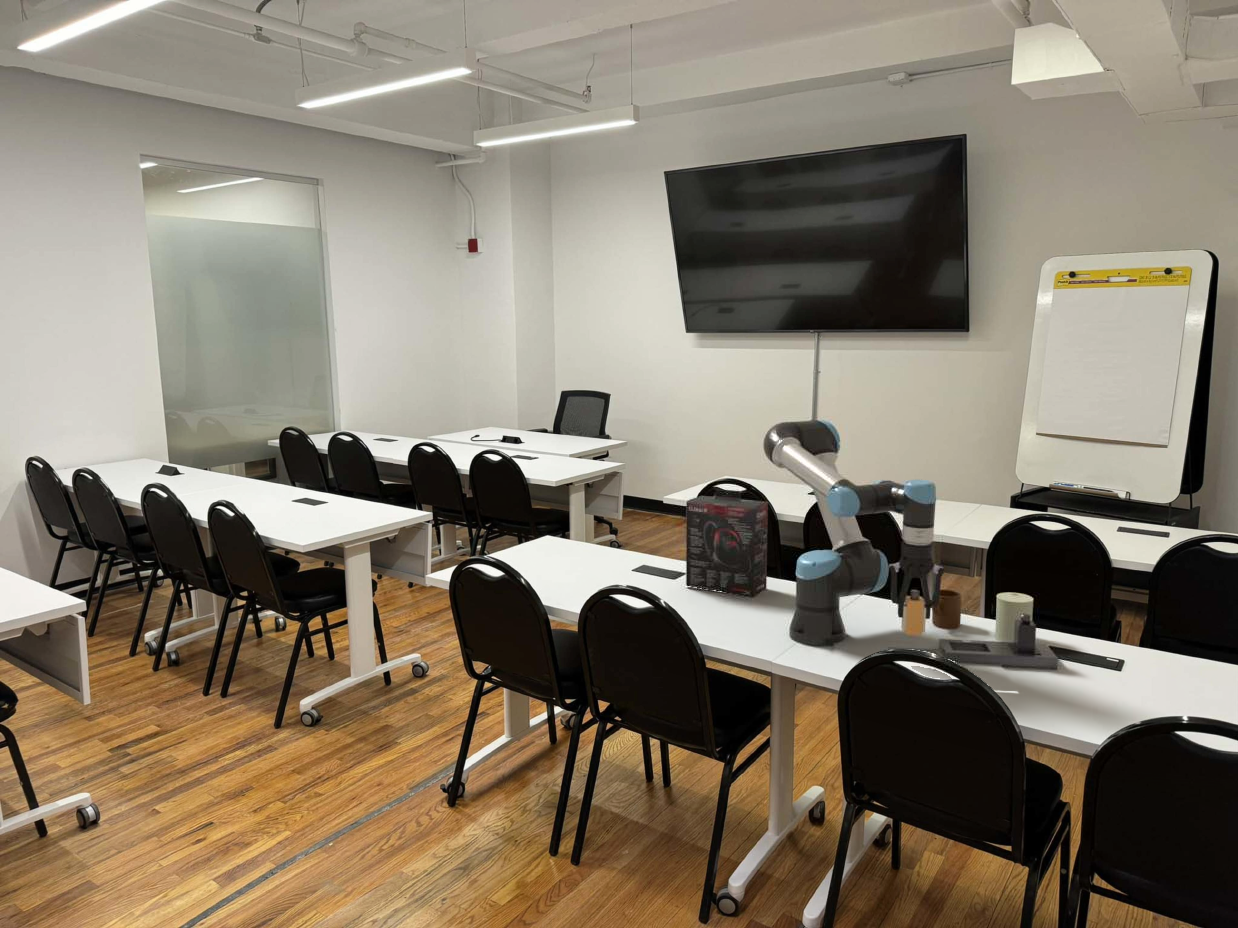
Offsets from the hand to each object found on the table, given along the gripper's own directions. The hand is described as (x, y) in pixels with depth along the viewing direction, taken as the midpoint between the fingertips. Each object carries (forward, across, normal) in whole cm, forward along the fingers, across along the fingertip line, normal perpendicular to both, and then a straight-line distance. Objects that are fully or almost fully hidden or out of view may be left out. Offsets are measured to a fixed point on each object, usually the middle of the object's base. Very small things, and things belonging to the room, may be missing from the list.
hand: (913, 629), depth 221 cm
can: (+7, +28, +17) cm, 34 cm away
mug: (+8, +12, +24) cm, 28 cm away
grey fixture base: (+7, +20, 0) cm, 22 cm away
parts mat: (+7, 0, -1) cm, 7 cm away
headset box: (+9, -52, +54) cm, 75 cm away
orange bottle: (+1, 0, 0) cm, 1 cm away
